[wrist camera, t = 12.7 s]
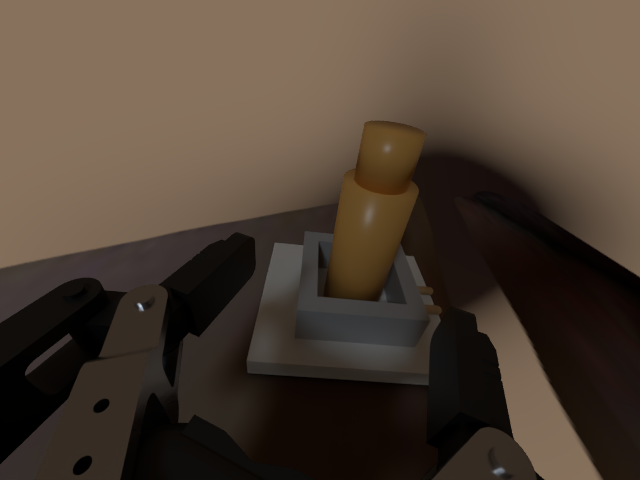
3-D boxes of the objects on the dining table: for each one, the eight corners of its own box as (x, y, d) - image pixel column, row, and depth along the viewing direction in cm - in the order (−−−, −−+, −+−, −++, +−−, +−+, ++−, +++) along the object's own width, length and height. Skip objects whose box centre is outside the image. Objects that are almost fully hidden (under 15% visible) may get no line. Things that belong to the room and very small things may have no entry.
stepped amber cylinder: (372, 279, 23) (423, 123, 16) (381, 321, 20) (452, 146, 12) (323, 275, 23) (349, 114, 15) (323, 317, 20) (357, 135, 12)
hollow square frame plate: (410, 267, 28) (425, 232, 25) (456, 387, 18) (489, 351, 15) (274, 254, 27) (275, 216, 24) (247, 372, 17) (243, 332, 14)
